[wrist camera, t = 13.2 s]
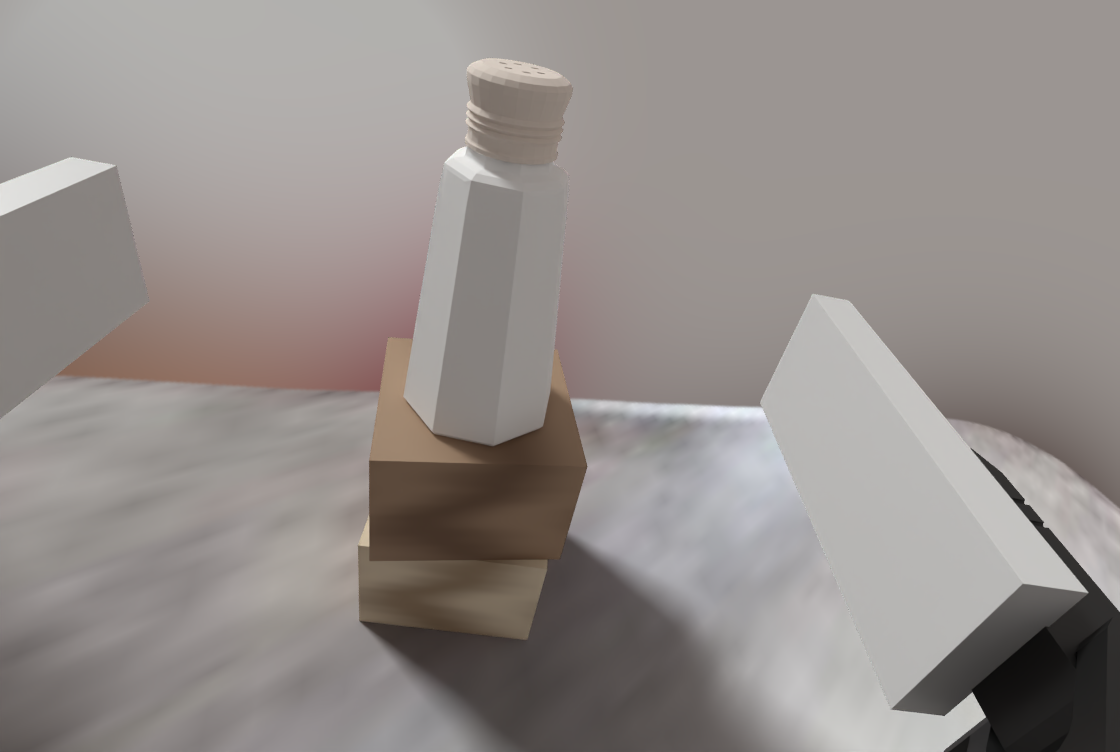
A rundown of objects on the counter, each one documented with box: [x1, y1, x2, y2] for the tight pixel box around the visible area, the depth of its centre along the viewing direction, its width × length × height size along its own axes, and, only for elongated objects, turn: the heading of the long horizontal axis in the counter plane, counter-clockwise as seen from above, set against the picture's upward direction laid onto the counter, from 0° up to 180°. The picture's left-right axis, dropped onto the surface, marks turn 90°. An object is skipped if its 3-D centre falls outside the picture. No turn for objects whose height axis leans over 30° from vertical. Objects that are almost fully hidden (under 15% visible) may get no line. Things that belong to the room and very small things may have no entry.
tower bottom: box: [358, 517, 548, 640], centre depth 26 cm, size 7×7×5 cm
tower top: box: [369, 337, 587, 561], centre depth 23 cm, size 7×7×5 cm
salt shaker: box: [403, 58, 573, 446], centre depth 18 cm, size 5×5×11 cm
